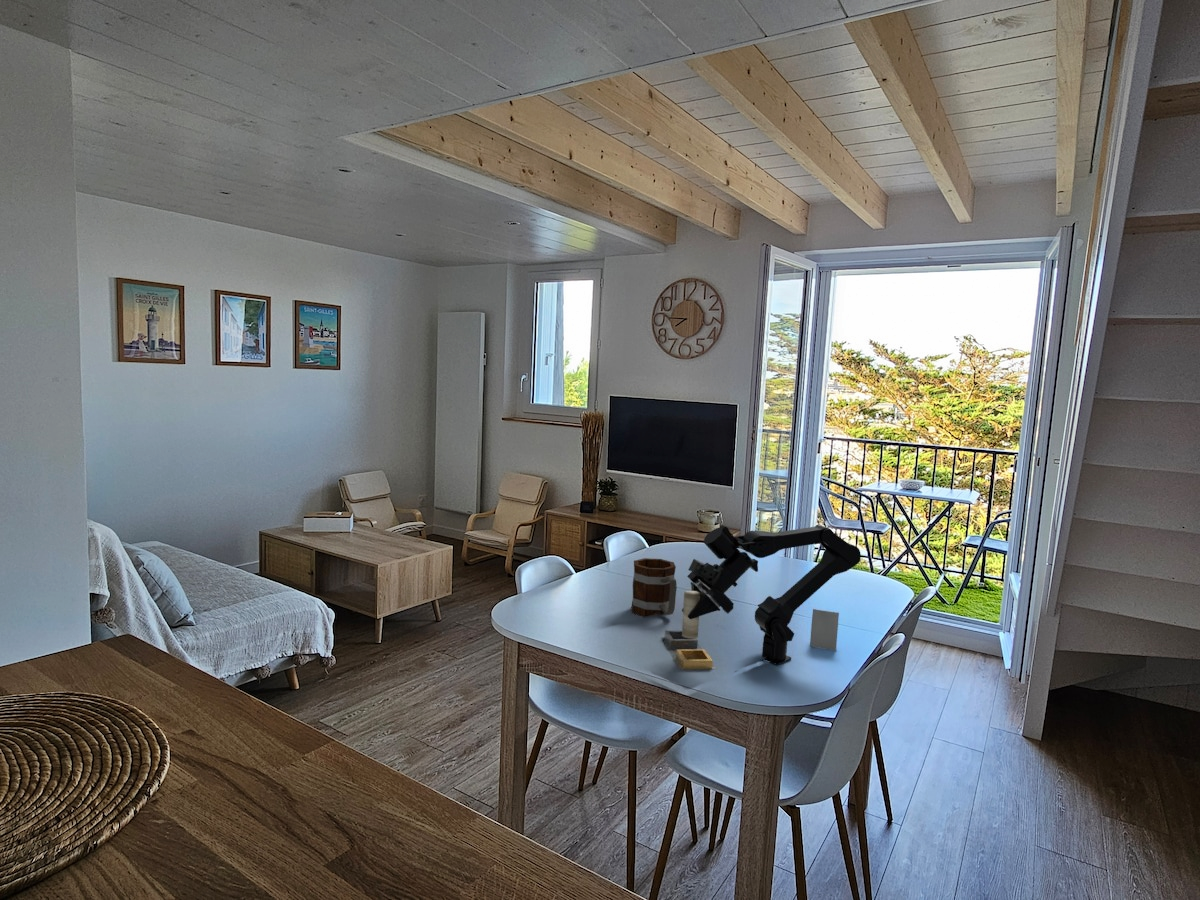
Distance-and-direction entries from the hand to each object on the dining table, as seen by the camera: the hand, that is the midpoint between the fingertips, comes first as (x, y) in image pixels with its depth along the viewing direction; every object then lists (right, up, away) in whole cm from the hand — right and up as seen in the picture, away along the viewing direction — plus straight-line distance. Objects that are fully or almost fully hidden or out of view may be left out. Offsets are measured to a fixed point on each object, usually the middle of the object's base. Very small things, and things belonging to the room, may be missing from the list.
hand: (685, 615), depth 174 cm
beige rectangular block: (+40, -13, +17) cm, 45 cm away
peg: (+1, -5, +1) cm, 6 cm away
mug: (-4, -9, +38) cm, 39 cm away
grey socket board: (+1, -12, +5) cm, 13 cm away
